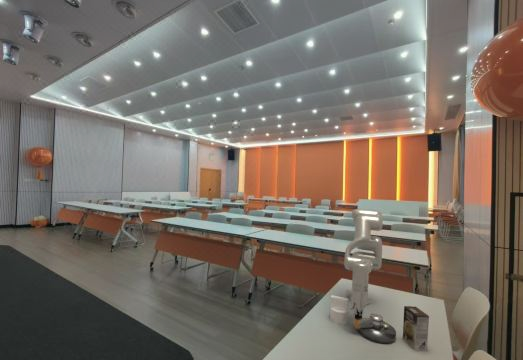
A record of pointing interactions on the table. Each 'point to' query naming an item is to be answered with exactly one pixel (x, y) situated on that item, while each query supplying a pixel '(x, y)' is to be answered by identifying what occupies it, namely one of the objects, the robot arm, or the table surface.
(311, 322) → the table surface
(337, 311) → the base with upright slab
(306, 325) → the table surface
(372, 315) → the orange-tipped joystick
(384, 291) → the table surface
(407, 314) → the coffee box
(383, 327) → the dark round disc base
